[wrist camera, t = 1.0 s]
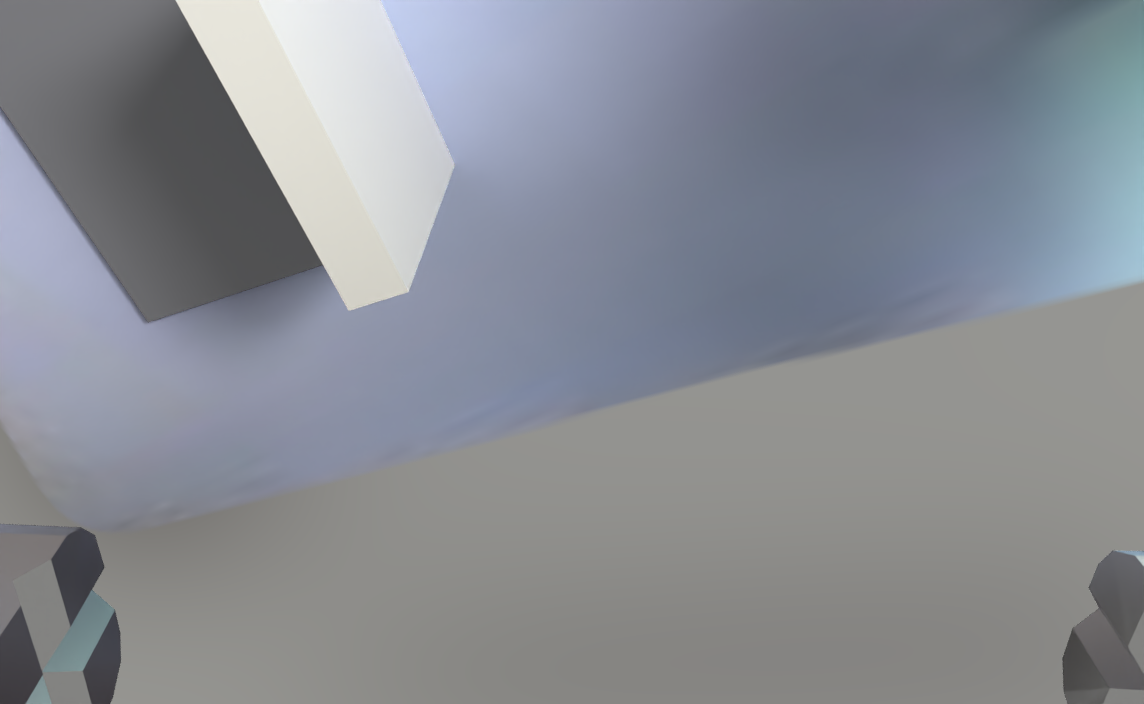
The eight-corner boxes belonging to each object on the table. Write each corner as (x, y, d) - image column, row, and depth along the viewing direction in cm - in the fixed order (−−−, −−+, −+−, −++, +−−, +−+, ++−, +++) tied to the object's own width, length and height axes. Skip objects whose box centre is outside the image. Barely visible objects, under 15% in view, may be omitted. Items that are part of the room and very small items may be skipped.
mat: (224, -132, 32) (220, -131, 32) (406, 233, 39) (404, 238, 39) (-68, -5, 35) (-74, -2, 35) (151, 317, 42) (148, 322, 42)
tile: (334, -104, 33) (235, -43, 24) (455, 164, 38) (408, 291, 29) (278, -81, 33) (163, -13, 25) (405, 181, 38) (345, 311, 30)
